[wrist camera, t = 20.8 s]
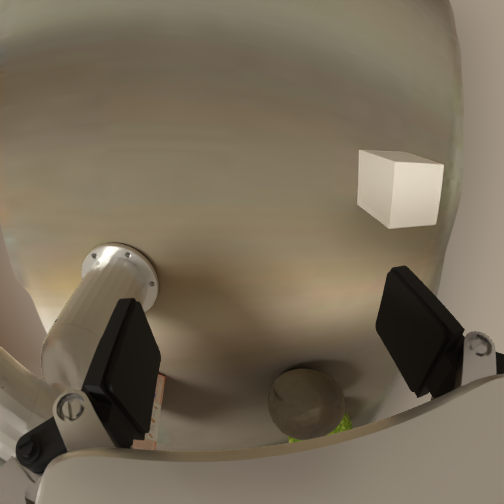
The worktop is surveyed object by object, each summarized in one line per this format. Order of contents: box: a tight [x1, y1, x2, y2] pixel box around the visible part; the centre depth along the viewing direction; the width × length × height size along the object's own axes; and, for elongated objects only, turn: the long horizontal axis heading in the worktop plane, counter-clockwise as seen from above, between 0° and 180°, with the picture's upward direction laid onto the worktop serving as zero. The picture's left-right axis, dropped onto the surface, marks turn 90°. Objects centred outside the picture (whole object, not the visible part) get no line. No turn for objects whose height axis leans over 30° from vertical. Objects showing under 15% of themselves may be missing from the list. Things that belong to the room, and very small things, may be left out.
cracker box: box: [132, 374, 166, 450], centre depth 41 cm, size 14×6×21 cm, turn 145°
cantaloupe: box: [268, 369, 346, 440], centre depth 46 cm, size 14×14×15 cm
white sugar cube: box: [357, 150, 444, 229], centre depth 31 cm, size 8×8×9 cm
